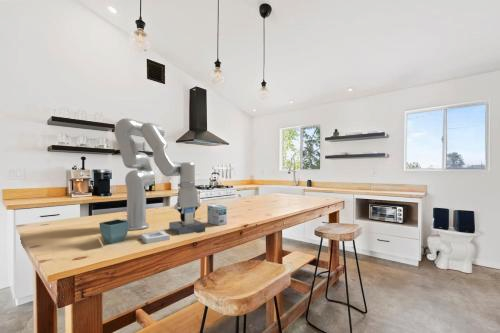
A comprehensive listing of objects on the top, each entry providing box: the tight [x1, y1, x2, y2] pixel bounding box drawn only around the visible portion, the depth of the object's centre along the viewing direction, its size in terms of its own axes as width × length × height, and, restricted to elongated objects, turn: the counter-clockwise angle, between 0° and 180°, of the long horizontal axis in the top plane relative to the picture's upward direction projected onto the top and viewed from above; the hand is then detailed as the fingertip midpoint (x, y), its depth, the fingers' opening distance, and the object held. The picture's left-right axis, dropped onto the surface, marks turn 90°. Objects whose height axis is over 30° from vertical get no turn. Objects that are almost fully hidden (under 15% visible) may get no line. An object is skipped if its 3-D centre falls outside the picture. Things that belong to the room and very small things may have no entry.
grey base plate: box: [140, 230, 171, 245], centre depth 112 cm, size 10×10×2 cm
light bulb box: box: [206, 203, 228, 226], centre depth 146 cm, size 11×7×11 cm, turn 49°
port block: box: [168, 218, 206, 236], centre depth 129 cm, size 14×14×4 cm
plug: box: [182, 207, 195, 225], centre depth 128 cm, size 5×5×9 cm
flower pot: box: [98, 219, 129, 245], centre depth 108 cm, size 9×9×9 cm
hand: (187, 219), depth 129 cm, fingers closed on plug, 4 cm apart
